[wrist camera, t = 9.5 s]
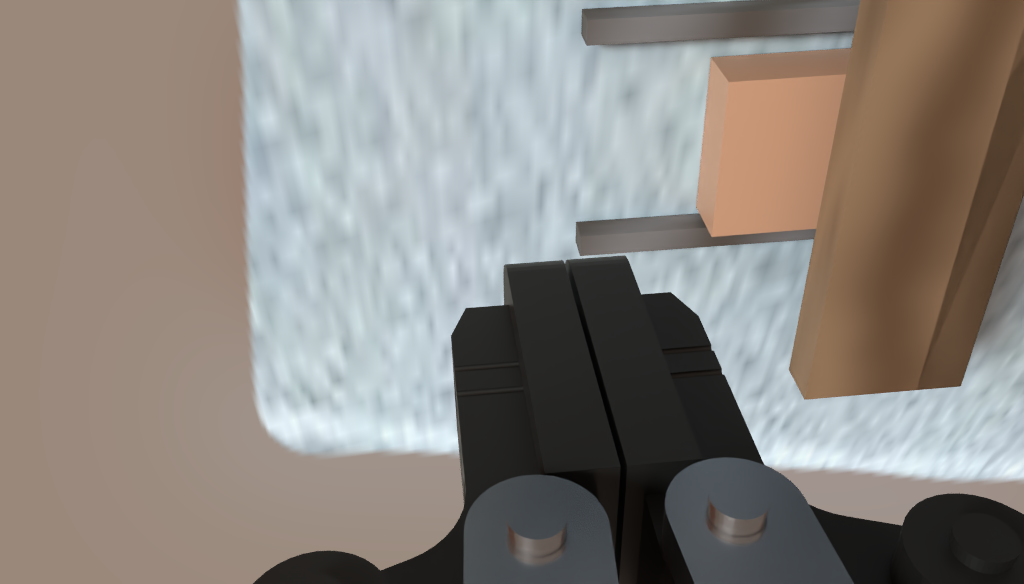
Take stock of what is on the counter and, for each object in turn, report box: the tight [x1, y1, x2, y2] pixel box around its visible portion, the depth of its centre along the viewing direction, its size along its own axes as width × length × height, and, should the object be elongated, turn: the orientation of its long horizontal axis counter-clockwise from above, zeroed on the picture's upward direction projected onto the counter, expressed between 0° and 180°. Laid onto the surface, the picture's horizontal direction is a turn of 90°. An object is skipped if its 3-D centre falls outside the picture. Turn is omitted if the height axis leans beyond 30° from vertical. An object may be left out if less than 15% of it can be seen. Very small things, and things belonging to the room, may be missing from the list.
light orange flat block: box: [696, 48, 851, 237], centre depth 41 cm, size 8×7×2 cm
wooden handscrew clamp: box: [576, 0, 1024, 399], centre depth 39 cm, size 16×20×6 cm
